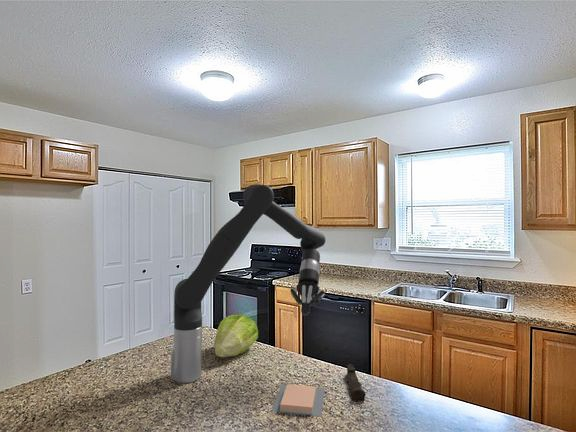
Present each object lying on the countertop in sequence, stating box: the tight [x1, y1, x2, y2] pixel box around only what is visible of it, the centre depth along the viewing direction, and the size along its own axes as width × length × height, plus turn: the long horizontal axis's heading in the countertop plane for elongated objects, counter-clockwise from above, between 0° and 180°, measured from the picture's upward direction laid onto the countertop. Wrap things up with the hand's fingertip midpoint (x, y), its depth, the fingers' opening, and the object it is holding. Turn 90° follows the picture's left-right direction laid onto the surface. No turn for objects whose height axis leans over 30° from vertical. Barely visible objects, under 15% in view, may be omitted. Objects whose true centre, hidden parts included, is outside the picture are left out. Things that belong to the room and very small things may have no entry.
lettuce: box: [213, 313, 259, 358], centre depth 137 cm, size 17×24×14 cm
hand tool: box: [346, 363, 366, 402], centre depth 109 cm, size 19×4×5 cm, turn 176°
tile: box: [279, 383, 317, 416], centre depth 99 cm, size 9×2×12 cm
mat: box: [270, 383, 326, 417], centre depth 100 cm, size 14×16×1 cm
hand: (305, 314), depth 116 cm, fingers closed
